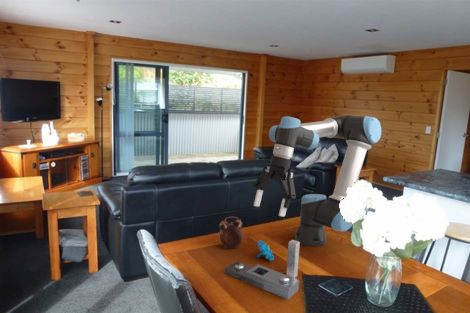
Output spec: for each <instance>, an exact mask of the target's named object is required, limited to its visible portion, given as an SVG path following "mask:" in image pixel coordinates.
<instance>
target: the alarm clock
mask: <svg viewBox="0 0 470 313" xmlns="http://www.w3.org/2000/svg"><path fill="white" fill-rule="evenodd" d="M229 218H230V219H231V218H235V220H234V221H230V222H228V221H227V219H229ZM218 227H219V229H220V230H219V233H218V234H219V236H218V237H219V240H220V242H221V244H222V247H223V248H224V249H227V248H228V249H233V248H237V249H238V248H239V245H240V244H241V243H242V242H243V239H244V232H243V230H242V228H243V222H242V221H241V218H238V217H237V216H234V215H233V216H228V217H225V218H224V220H221V222H220V223H219V226H218Z"/></svg>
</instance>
